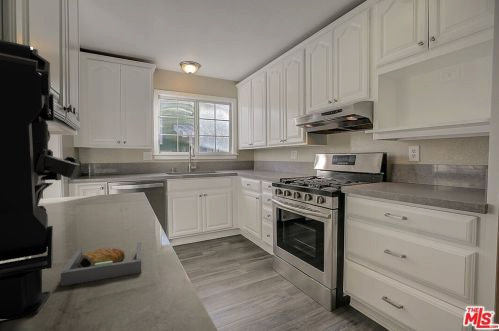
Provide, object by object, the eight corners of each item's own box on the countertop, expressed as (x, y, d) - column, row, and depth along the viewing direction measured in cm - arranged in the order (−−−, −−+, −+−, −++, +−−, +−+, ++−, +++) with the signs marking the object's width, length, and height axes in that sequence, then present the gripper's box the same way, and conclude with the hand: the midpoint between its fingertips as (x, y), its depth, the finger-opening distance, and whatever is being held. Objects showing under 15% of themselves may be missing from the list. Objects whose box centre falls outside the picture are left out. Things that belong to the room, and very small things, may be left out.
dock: (141, 272, 51) (141, 257, 51) (60, 286, 45) (60, 269, 45) (141, 251, 63) (141, 240, 63) (77, 260, 57) (77, 247, 57)
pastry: (113, 255, 61) (113, 240, 61) (131, 259, 58) (132, 244, 58) (74, 270, 52) (74, 253, 52) (94, 276, 50) (94, 258, 50)
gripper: (63, 142, 46) (63, 222, 46) (85, 148, 63) (85, 206, 63) (-16, 139, 41) (-16, 228, 41) (31, 146, 58) (31, 209, 58)
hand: (30, 216), depth 51 cm, fingers closed
